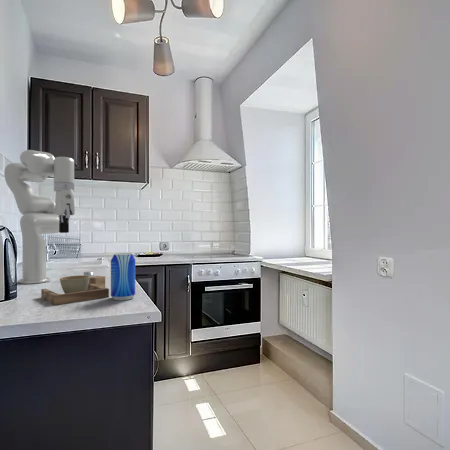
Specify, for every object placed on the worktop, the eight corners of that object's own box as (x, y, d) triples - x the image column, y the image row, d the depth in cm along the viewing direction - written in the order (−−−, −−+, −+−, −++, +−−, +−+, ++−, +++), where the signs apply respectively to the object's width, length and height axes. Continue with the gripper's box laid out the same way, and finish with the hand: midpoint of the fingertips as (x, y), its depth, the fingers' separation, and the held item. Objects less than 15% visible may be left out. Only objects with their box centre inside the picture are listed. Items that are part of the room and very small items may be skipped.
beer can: (110, 296, 121) (110, 253, 121) (134, 295, 124) (134, 252, 124) (111, 301, 113) (111, 254, 113) (136, 299, 116) (136, 254, 116)
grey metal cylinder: (82, 286, 142) (82, 272, 142) (91, 285, 144) (91, 271, 144) (85, 287, 139) (85, 273, 139) (95, 286, 141) (95, 272, 141)
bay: (41, 297, 119) (41, 289, 119) (91, 290, 131) (91, 283, 132) (54, 305, 108) (54, 296, 108) (108, 296, 120) (108, 288, 120)
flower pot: (80, 292, 127) (80, 274, 127) (95, 296, 121) (95, 276, 121) (54, 297, 119) (54, 277, 119) (68, 301, 113) (68, 280, 113)
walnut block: (86, 289, 135) (86, 277, 135) (96, 287, 139) (96, 275, 139) (95, 290, 132) (95, 278, 132) (105, 288, 137) (105, 276, 137)
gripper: (80, 187, 132) (80, 232, 132) (67, 189, 143) (67, 232, 143) (60, 185, 127) (60, 233, 127) (48, 188, 138) (48, 232, 137)
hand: (64, 232), depth 135 cm, fingers closed
